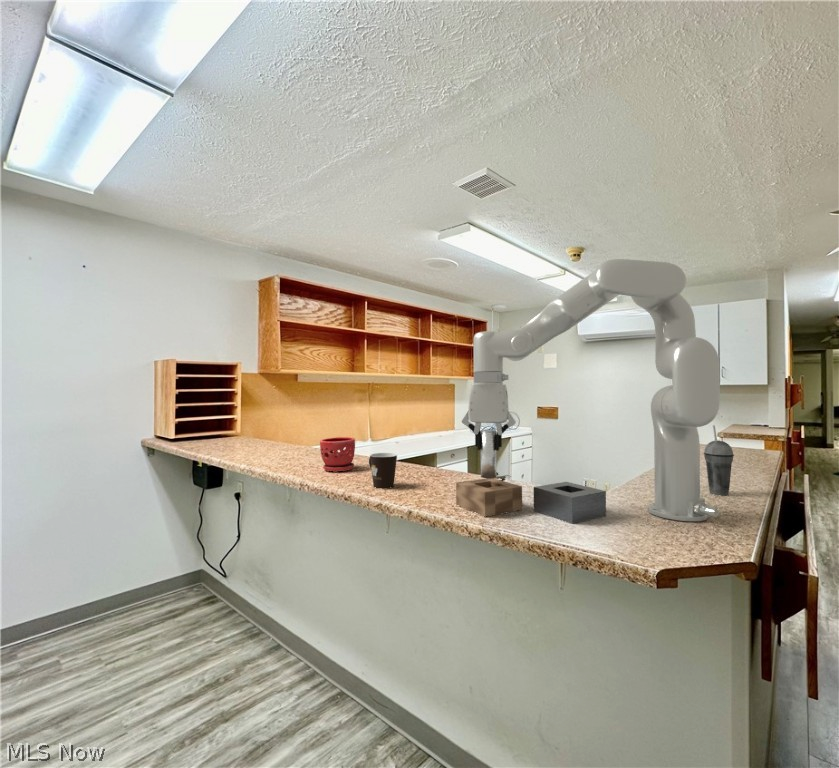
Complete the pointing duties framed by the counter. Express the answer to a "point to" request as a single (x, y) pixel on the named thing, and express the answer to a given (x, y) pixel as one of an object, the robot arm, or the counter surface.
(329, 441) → the plant pot
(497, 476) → the hacksaw
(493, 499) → the block
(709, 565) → the counter surface
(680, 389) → the robot arm
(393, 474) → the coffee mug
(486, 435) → the silver metal cylinder
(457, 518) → the counter surface
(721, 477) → the beverage cup
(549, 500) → the socket block
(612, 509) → the counter surface
